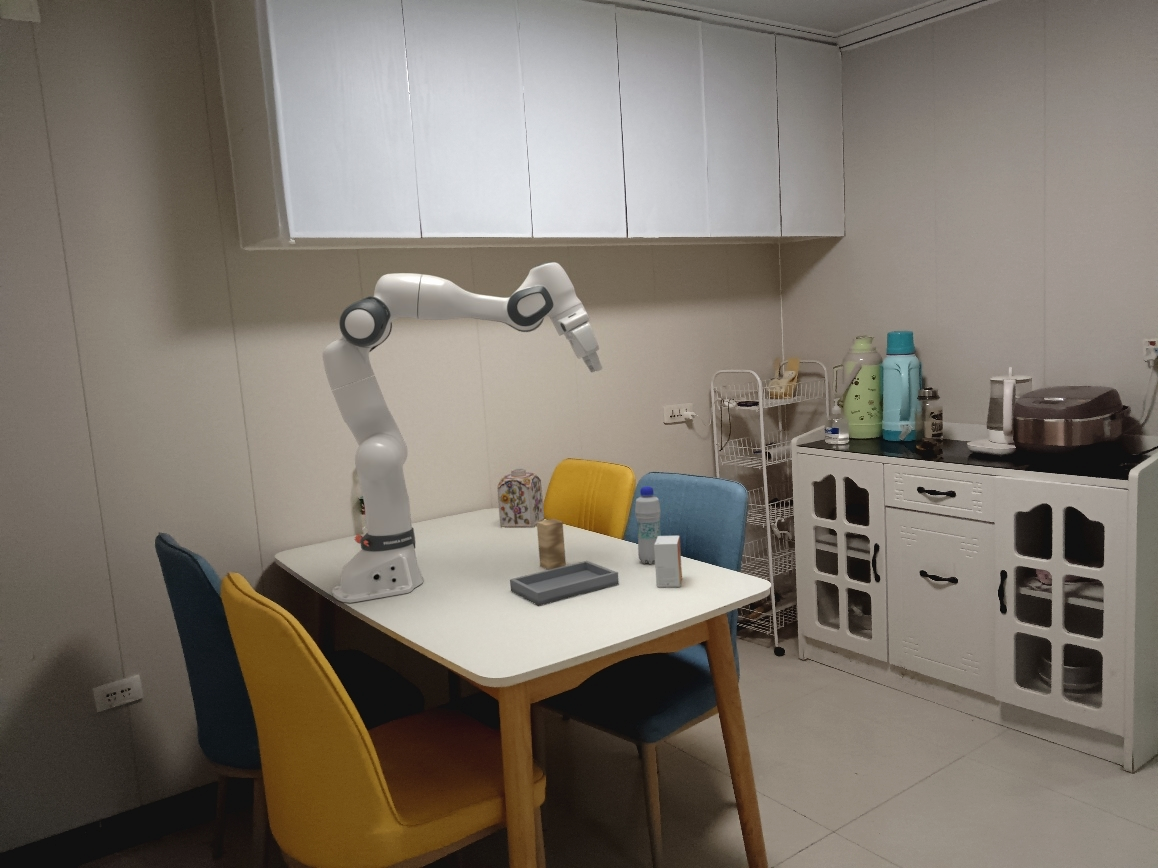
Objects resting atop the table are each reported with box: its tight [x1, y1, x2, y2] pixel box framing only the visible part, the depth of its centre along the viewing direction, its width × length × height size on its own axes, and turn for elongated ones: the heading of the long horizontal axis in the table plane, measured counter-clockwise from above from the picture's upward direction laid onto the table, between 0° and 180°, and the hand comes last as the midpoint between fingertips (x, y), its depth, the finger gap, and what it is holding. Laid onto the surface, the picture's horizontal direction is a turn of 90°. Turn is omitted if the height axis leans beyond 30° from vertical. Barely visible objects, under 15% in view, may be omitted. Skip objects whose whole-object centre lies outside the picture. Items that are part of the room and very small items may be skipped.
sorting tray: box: [509, 560, 619, 607], centre depth 195 cm, size 22×14×3 cm, turn 122°
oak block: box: [536, 518, 567, 570], centre depth 214 cm, size 5×5×12 cm
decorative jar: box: [497, 467, 545, 528], centre depth 264 cm, size 12×12×18 cm
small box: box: [654, 535, 683, 588], centre depth 194 cm, size 8×6×10 cm
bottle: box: [634, 486, 662, 565], centre depth 211 cm, size 7×7×20 cm
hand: (596, 370), depth 205 cm, fingers open, 8 cm apart
